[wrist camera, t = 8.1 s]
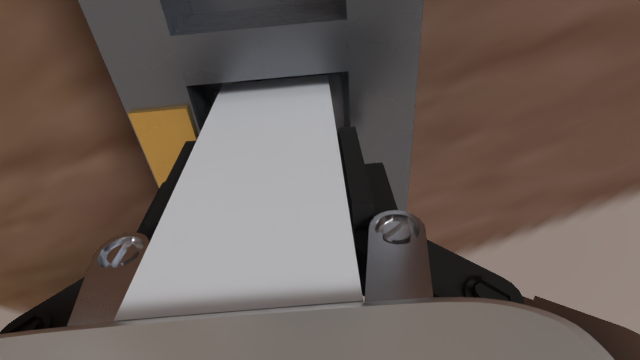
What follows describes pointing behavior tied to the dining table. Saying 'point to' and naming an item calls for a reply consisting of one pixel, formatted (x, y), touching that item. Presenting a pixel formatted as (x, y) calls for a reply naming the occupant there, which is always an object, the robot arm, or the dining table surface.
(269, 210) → the plug
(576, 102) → the dining table surface
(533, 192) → the dining table surface
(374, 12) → the socket panel
